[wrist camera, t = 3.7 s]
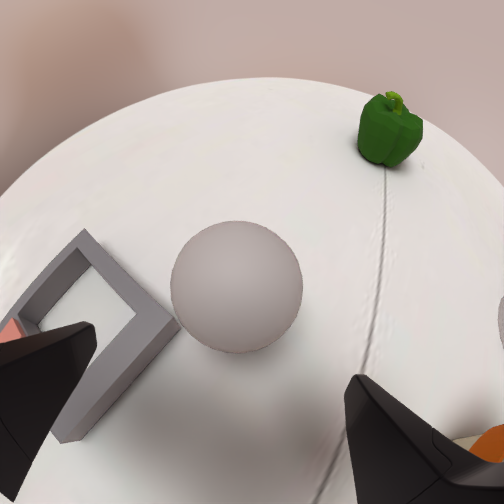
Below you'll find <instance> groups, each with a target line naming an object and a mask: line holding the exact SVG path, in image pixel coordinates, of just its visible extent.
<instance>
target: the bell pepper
mask: <svg viewBox="0 0 504 504" xmlns="http://www.w3.org/2000/svg"><path fill="white" fill-rule="evenodd" d="M386 97H387V98H386ZM386 97H384V96H383V95H381V94H378V95H376V96H374V97H373V98H372V99H371V100H370V101H369V102H368V103H367V104H365V106H364V109H363V111H362V114H361V118H360V125H359V133H358V142H357V143H358V148H359V150H360V152H361V153H362V155H363V156H364V157H365V158H366V159H367V160H369V161H371V162H374V163H377V164H379V163H383V164H385V165H386V166H389V167H393V166H396V165H398V164H399V163H401V162H402V161H403V160H405V159H406V158H407V157H408V156H409V155H410V154H411V153H412V152H413V151H414V150H415V149H416V148H417V147H418V145H419V143H420V142H421V140H422V136H423V120H422V119H421V118H419V117H418V116H417V115H414V114H412V113H410V112H409V110H408V109H407V108H406V106H405V105H404V104H403V100H402V98H401V96H400V95H398V94H397V93H395V92H392V91H391V92H386ZM391 99H395V100H391Z"/></svg>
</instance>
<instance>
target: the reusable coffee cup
mask: <svg viewBox="0 0 504 504" xmlns="http://www.w3.org/2000/svg"><path fill="white" fill-rule="evenodd" d="M452 441H453V442H454V443H456V444H458V445H459V446H461V447H463V448H464V449H466V450H468V451H469V452H471V453H473V454H474V455H476V456H478V457H480V458H481V459H483V460H485V461H488V462H494V463H499V462H504V424H502V425H499V426H495V427H493V428H491V429H489V430H488V431H486V432H485V433H484V434H480V435H476V436H471V437H466V438H461V439H455V440H452Z"/></svg>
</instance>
